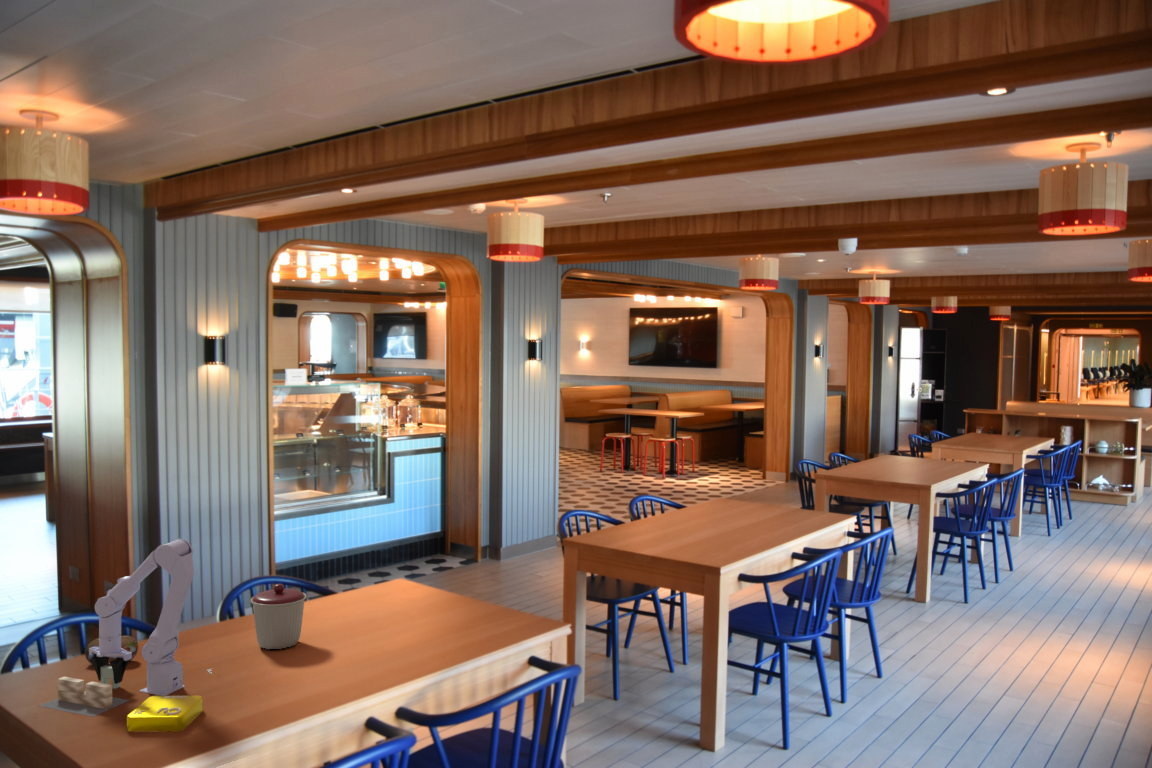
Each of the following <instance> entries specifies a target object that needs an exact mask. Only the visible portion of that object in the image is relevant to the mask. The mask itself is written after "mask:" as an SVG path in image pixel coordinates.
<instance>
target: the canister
mask: <svg viewBox="0 0 1152 768" xmlns="http://www.w3.org/2000/svg"><path fill="white" fill-rule="evenodd" d="M307 597H308V596H307V594H306V593H305V592H302V590H299V589H296V588H295V589H294V588H285V585H284V584H282V583H277V584H274V585H273V588H272V589H268V590H265V591H261V592H258V593H256V594H255V595H254V596H252V597H251V598H250V603H251V604H252V609H253V610H252V611H253V619H254V620H253V621H254V627H255V635H256V640H257V643H258V645H259V646H260V648H262V649H264V648H265V649H264V650H269V649H280V650H282V649H281V648H285V649H287V648H286V647H289V648H292V647H294V646H295V645H297V644H298V642H299V641H300V639H301V632H302V627H303V626H302V624H303V616H304V608H305V600H306V599H307ZM293 645H294V646H293ZM291 646H292V647H291Z"/></svg>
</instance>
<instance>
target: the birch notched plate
mask: <svg viewBox="0 0 1152 768" xmlns="http://www.w3.org/2000/svg"><path fill="white" fill-rule="evenodd" d="M112 697H113V688H112V684H110V683H109V684H103V683H101V682H97V681H89V682H87V683H85V680H84V679H81V678H75V677H74V678H73V677H68V676H62V677H59V678H57V699H58V700H61V701H66V702H72V703H77V704H82V705H87V706H92V707H98V708H103V709H108V708H110V707H112Z"/></svg>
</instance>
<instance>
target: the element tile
mask: <svg viewBox="0 0 1152 768" xmlns="http://www.w3.org/2000/svg"><path fill="white" fill-rule="evenodd" d="M202 712H203V696H201V695H166V696H161V695H152V696H149V697H148V698H146V699H145V700H143V702H142V703H140V704H138V705H137V706H136V707H135V708H134V709H132V711H130V712H129V713H128V714H127V715H126V731H127V730H128V731H172V732H171V733H175V732H174V731H178V732H181V730H182V731H184V730H185V729H186V728H188V727H189V726H190V724H191V723H192V722H194V720H195V719H196V718H198V717H199V716H200V715H201V713H202ZM183 729H184V730H183ZM128 731H127V732H128Z"/></svg>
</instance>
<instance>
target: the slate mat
mask: <svg viewBox="0 0 1152 768" xmlns="http://www.w3.org/2000/svg"><path fill="white" fill-rule="evenodd" d="M128 702H130V699H124V698H121V697H114V696H112V707H110V708H108V709H103V708H98V707H92V706H87V705H82V704H77V703H72V702H66V701H61V700H58V698H56V699H53V700H51V701H47V702H45V703H43V704H41V705H39V707H42V708H45V709H46V708H47V709H52V710H55V711H62V712H67V713H72V714H78V715H82V716H88V717H96V716H98V715H100V714H102V713H105V712H107V711H109V710H112V709H115V708H116V707H118V706H121V705H123V704H125V703H128Z"/></svg>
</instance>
